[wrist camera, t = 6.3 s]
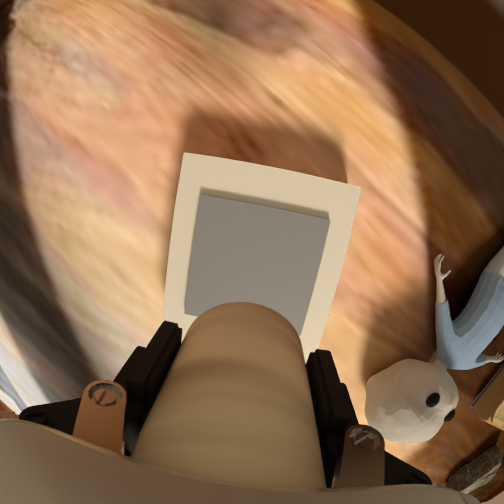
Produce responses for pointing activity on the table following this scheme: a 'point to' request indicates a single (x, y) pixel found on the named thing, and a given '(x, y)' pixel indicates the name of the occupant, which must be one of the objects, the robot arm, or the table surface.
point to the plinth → (257, 242)
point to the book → (492, 401)
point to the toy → (438, 363)
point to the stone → (476, 471)
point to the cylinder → (236, 403)
